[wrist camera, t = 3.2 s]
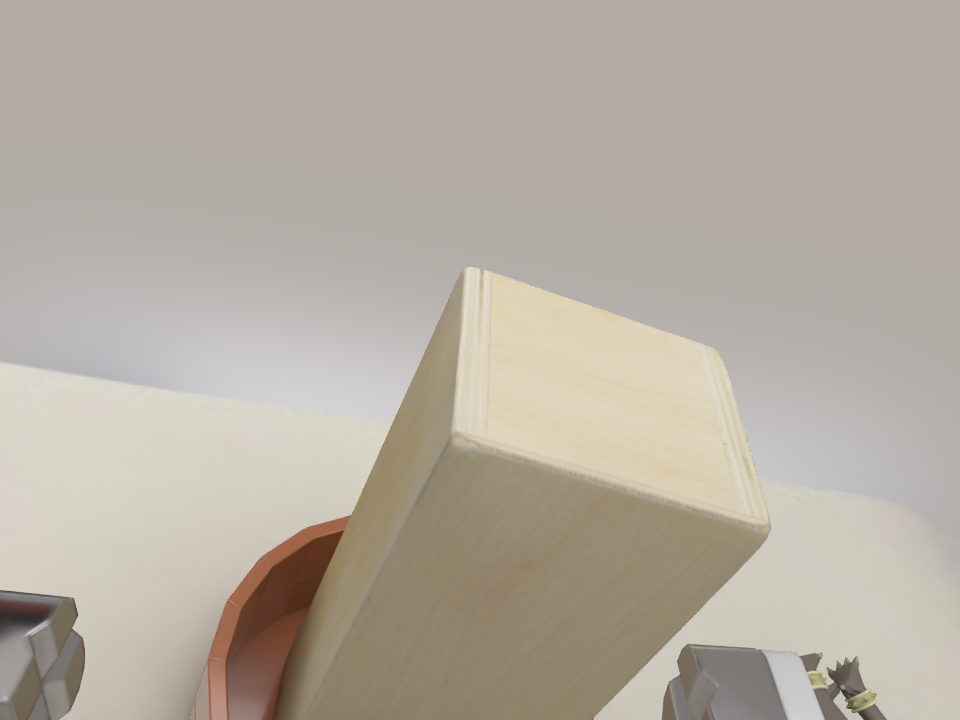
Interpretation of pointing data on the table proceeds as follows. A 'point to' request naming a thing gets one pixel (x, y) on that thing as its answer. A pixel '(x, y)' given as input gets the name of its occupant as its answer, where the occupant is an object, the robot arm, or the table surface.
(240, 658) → the pot
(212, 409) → the table surface
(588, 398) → the toy refrigerator
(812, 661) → the figurine
